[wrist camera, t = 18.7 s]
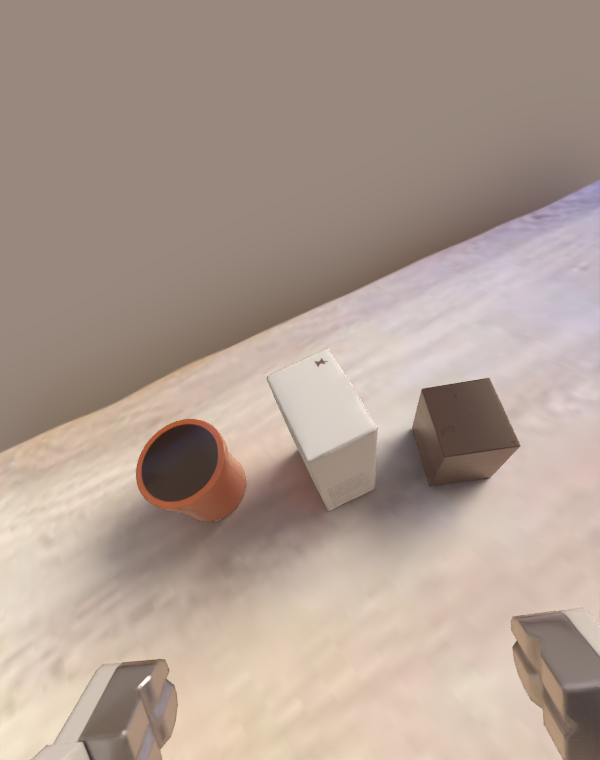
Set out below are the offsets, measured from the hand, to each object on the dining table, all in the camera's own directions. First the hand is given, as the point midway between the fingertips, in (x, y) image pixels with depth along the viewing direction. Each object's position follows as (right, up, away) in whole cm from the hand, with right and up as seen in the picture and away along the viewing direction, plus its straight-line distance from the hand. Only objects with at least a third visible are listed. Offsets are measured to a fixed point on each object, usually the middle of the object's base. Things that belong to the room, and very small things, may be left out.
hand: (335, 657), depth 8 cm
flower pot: (-8, -2, +22) cm, 24 cm away
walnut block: (+11, +1, +21) cm, 23 cm away
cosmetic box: (+2, -1, +21) cm, 22 cm away
